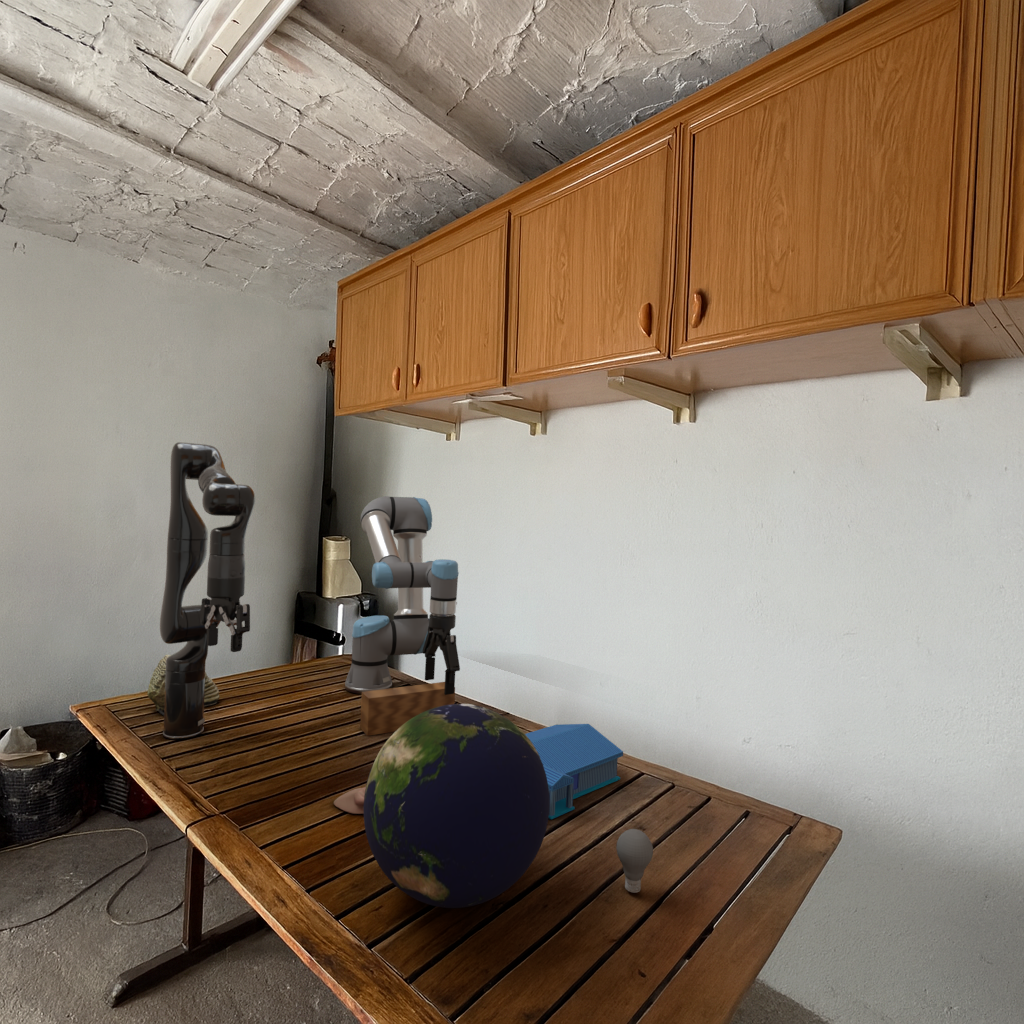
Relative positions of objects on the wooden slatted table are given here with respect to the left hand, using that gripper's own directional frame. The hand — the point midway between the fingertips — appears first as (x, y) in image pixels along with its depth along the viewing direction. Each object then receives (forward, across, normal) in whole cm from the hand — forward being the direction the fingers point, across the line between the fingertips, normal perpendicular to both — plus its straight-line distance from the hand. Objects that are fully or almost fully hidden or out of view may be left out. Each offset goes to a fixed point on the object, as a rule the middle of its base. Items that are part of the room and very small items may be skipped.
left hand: (223, 648), depth 139 cm
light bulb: (+29, -90, -15) cm, 96 cm away
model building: (+29, -58, -38) cm, 76 cm away
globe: (+29, -66, +2) cm, 72 cm away
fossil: (+29, +50, -22) cm, 62 cm away
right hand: (+20, -14, -60) cm, 64 cm away
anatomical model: (+29, -34, -12) cm, 46 cm away
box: (+29, -10, -51) cm, 60 cm away
